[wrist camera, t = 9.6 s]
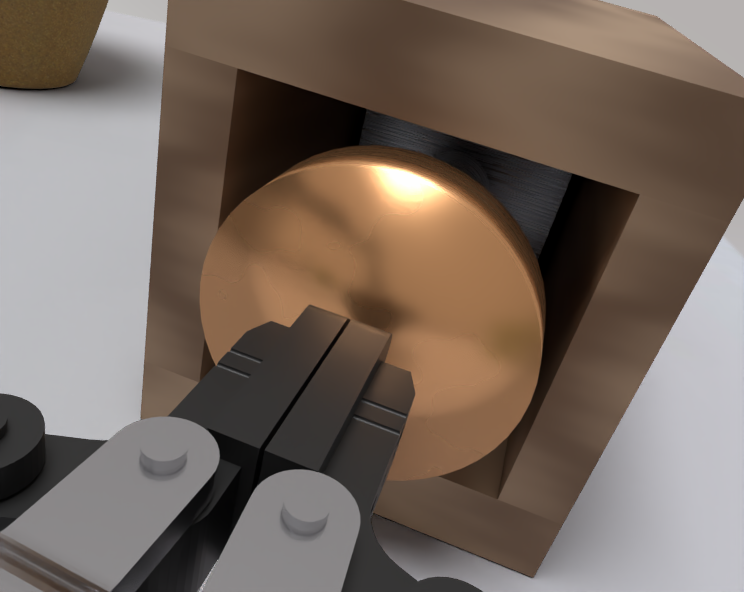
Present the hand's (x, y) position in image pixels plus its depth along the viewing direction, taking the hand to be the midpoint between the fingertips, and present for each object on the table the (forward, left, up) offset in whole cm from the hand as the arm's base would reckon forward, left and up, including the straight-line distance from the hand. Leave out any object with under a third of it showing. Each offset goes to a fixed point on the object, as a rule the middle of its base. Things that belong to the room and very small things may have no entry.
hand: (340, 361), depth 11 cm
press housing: (0, +15, -6) cm, 16 cm away
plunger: (0, +12, -4) cm, 12 cm away
